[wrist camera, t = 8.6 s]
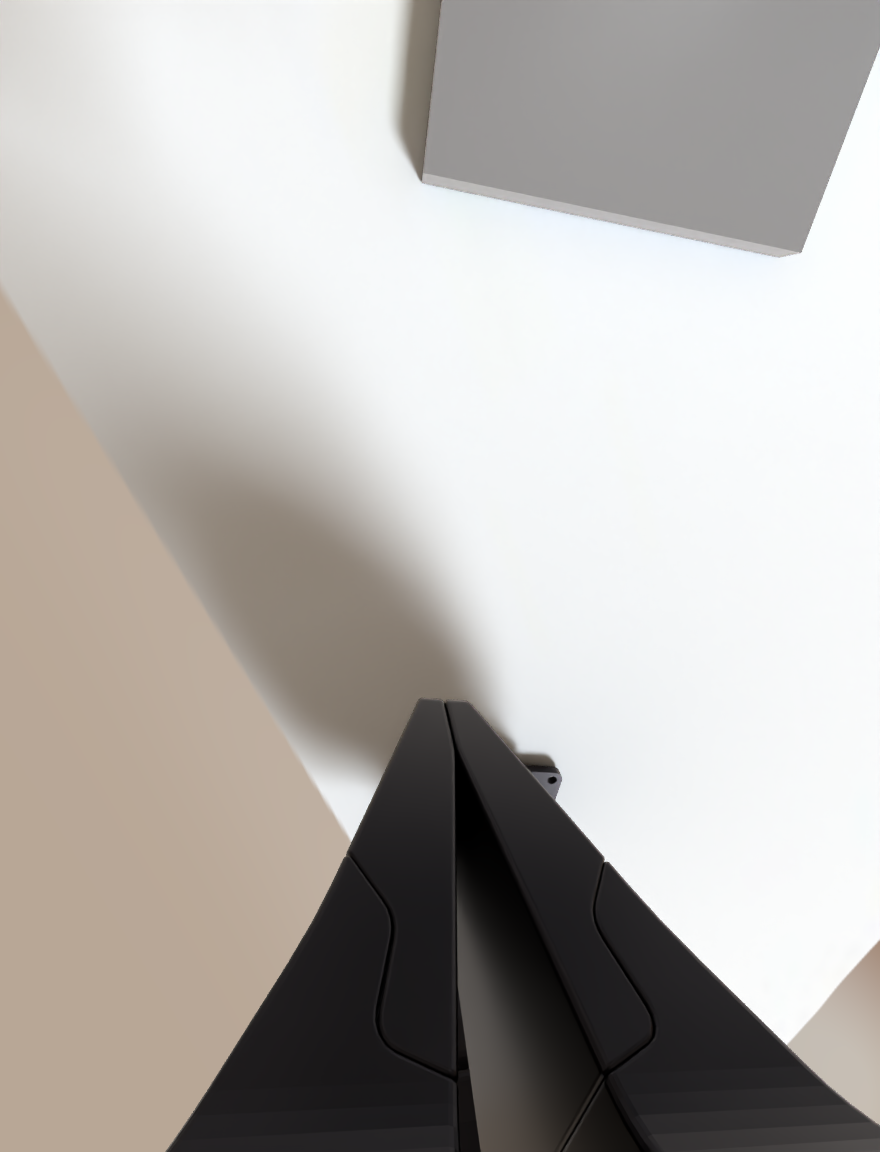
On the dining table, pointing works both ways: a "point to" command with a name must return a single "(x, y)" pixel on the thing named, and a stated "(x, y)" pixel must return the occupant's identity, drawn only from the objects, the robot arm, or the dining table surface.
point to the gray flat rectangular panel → (652, 110)
